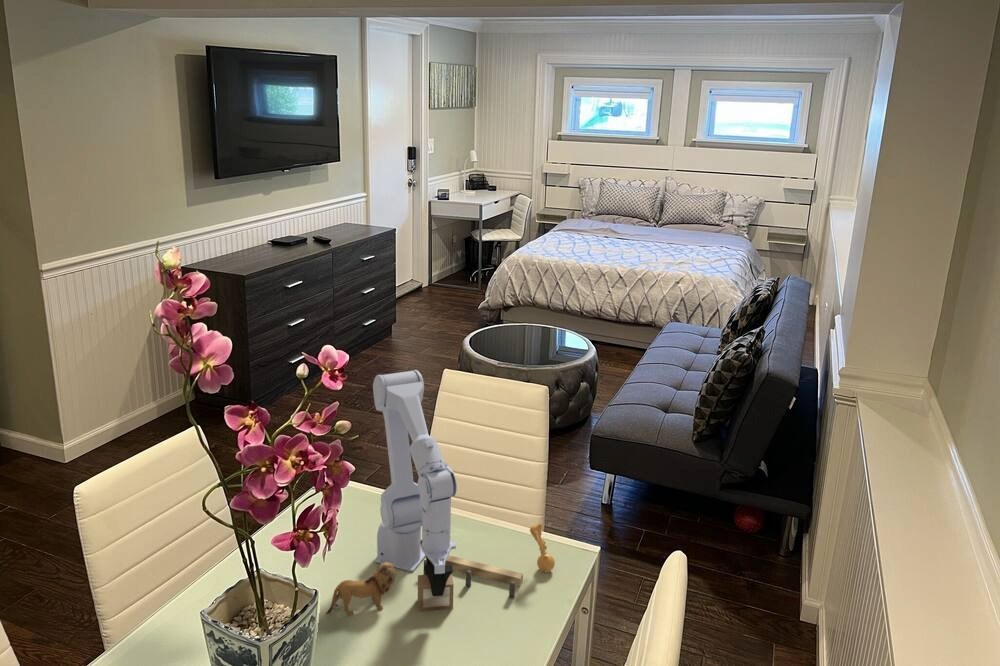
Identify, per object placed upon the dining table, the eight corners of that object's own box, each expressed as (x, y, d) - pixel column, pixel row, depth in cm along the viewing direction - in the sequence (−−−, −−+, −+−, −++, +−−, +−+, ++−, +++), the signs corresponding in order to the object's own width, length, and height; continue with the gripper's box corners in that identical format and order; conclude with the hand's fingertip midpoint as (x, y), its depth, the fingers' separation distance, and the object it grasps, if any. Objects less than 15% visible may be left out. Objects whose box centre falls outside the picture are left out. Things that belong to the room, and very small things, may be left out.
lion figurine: (391, 591, 166) (391, 554, 164) (399, 606, 162) (399, 568, 159) (323, 609, 160) (321, 571, 157) (329, 624, 156) (328, 586, 153)
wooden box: (419, 612, 160) (419, 587, 159) (417, 599, 164) (417, 575, 162) (453, 609, 162) (453, 584, 160) (450, 597, 166) (451, 572, 164)
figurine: (557, 581, 172) (560, 533, 168) (530, 582, 171) (533, 534, 168) (550, 559, 180) (554, 513, 176) (525, 560, 179) (527, 514, 176)
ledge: (422, 575, 172) (422, 561, 171) (435, 559, 178) (435, 546, 177) (513, 598, 166) (514, 584, 164) (523, 581, 171) (523, 567, 170)
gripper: (460, 544, 151) (459, 603, 155) (451, 506, 165) (450, 561, 169) (424, 546, 150) (423, 606, 154) (418, 508, 164) (418, 564, 168)
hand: (435, 583), depth 161 cm, fingers open, 7 cm apart
